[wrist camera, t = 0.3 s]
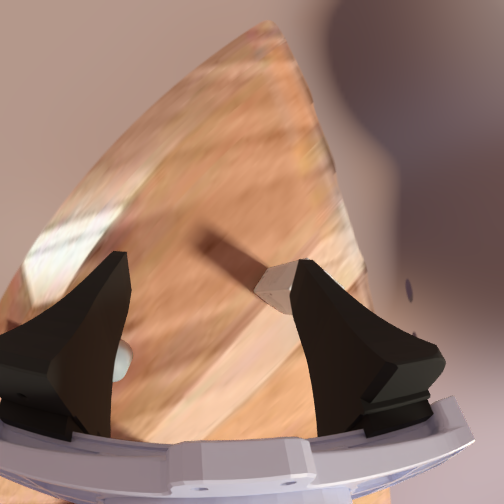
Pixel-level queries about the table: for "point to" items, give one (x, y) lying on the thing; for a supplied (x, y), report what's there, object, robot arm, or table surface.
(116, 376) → the peg
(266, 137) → the table surface
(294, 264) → the skincare box
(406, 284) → the table surface
